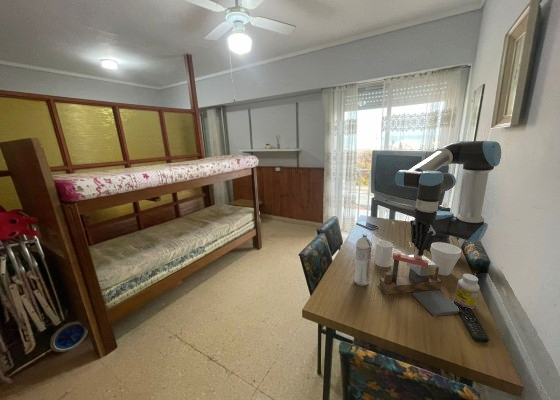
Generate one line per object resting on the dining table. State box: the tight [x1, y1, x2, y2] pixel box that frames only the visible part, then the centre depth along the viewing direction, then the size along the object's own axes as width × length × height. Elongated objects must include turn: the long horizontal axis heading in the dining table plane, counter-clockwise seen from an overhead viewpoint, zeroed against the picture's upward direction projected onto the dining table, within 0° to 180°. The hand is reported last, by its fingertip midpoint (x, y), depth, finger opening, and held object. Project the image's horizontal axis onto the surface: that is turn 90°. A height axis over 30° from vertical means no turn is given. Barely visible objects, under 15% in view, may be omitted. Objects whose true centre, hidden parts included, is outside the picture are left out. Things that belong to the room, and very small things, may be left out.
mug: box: [374, 239, 394, 268], centre depth 119 cm, size 12×8×12 cm
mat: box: [412, 289, 460, 316], centre depth 91 cm, size 12×12×1 cm
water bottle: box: [353, 233, 373, 287], centre depth 103 cm, size 7×7×25 cm
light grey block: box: [405, 254, 437, 276], centre depth 99 cm, size 7×9×5 cm
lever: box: [392, 252, 428, 267], centre depth 94 cm, size 13×3×2 cm, turn 57°
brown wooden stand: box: [379, 259, 442, 295], centre depth 100 cm, size 26×6×15 cm, turn 96°
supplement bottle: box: [454, 273, 480, 310], centre depth 89 cm, size 7×7×13 cm
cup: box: [429, 242, 462, 276], centre depth 111 cm, size 12×12×14 cm
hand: (417, 260), depth 95 cm, fingers closed
